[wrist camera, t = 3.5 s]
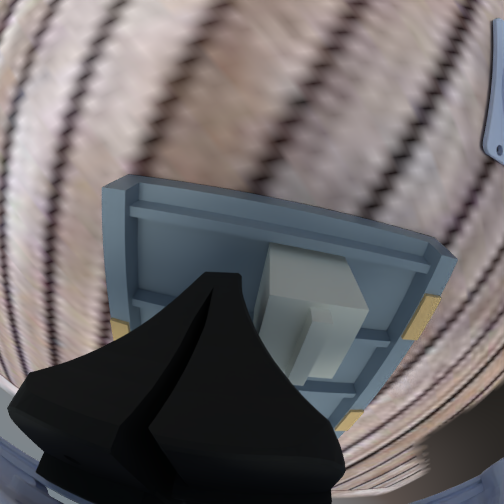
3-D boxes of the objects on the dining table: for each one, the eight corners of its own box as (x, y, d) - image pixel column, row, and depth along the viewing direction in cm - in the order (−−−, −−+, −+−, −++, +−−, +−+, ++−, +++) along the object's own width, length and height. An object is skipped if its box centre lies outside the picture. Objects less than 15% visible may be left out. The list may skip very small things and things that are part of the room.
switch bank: (434, 237, 11) (460, 261, 9) (333, 415, 18) (337, 442, 16) (128, 174, 11) (98, 189, 9) (140, 385, 17) (130, 411, 15)
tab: (344, 255, 11) (374, 323, 7) (320, 318, 12) (334, 391, 9) (269, 241, 11) (269, 307, 7) (254, 307, 12) (247, 382, 9)
